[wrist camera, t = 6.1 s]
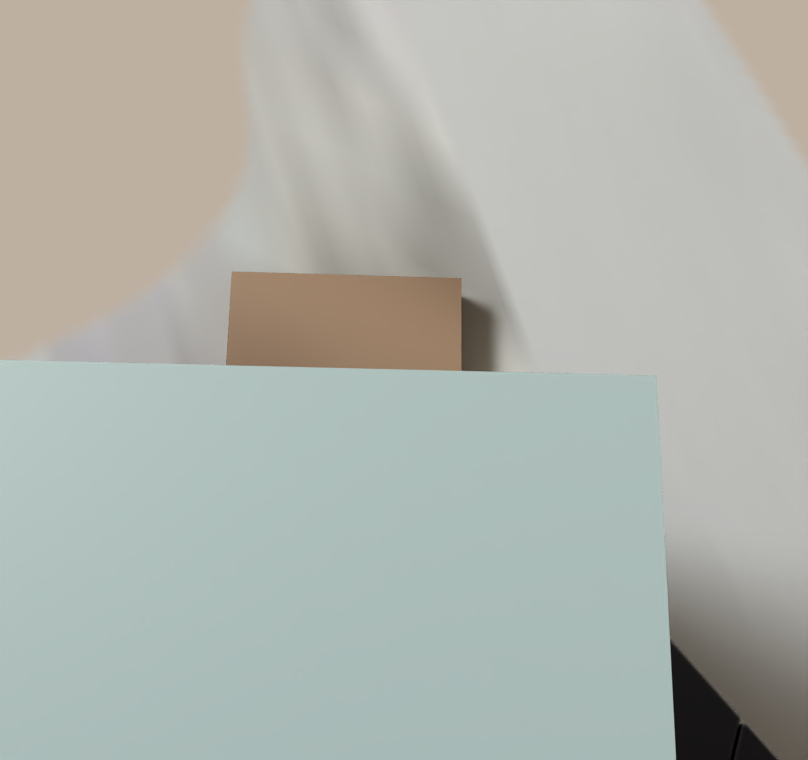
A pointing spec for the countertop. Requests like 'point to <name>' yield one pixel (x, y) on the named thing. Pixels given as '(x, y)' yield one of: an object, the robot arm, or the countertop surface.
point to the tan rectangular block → (344, 321)
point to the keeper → (330, 564)
